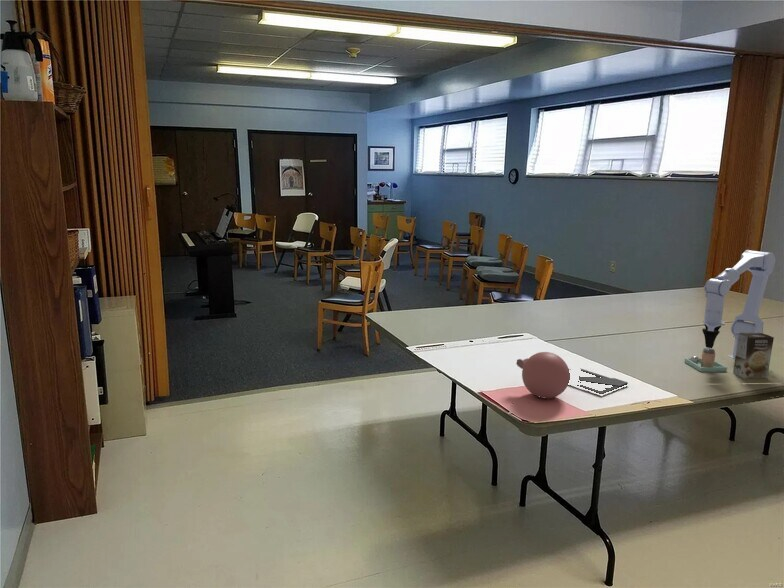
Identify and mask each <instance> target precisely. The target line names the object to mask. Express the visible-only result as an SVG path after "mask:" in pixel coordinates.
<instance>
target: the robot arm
mask: <svg viewBox="0 0 784 588" xmlns="http://www.w3.org/2000/svg"><path fill="white" fill-rule="evenodd" d="M775 265H776V257H775V254H774V253H773V252H766V251H760V250H759V251H758V250H750V249H746V250H744V252H743V253H741V256H740V260H739V261H738V262H736V264H734V266H733V267H727V268H725V269H724V270H723V271H722V272H721V273H719V274H718V275H717V276H716V277H714V278H710V279H708V280H706V282H705V285H703V287H704V292H705V298H706V301H705V302H706V303H705V308H704V309H705V310H704V320H703V326H704V327H705V328H703V327H702V333H703V335H704V336H703V337H704V342H705V348H710V349H713V348H714V345H715V343H716V342H715V341H716V339H717V336H718V335H719V334H720V329H721V328H722V326H725V325H726V322H722V319H723V312H724V303H725V297H726V295H728V293H729V292H730V289H731V288H732V286H733V285H734V284H735V283H736V282H738V281H739V280H740V275H741V274H743V273H745V272H746V271H749V272H751V273H750V274H751V275H752V277H751V282H750V285H749V288H748V293H747V295H746V299H745V300H746V301H745V304H744V307H743V311H742V313H740V314H738V315H736V316H735V318H734V320H733V321H732V323H731V325H730V333H731V334H732V335H733V337H734V344H733V350H732V354H727V357H729V358H731V359H732V360H735V356H736V349H737V343H738V336H739V333H763V334H764V325H765V324H764V323H765V322H764V321H763V320H762V319H761V318H760V316H759V313H760V309H761V305H762V301H763V297H764V294H765V291H766V287H767V283H768V279H769V277H770V275H771V274H773V271H774V268H775Z"/></svg>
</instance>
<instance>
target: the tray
mask: <svg viewBox="0 0 784 588" xmlns="http://www.w3.org/2000/svg"><path fill="white" fill-rule="evenodd" d="M690 358H691V357H685V358H684V363H685V364H687V365H688V366H690V367H692V368H694V369H695V370H697V371H699V372H703V373H704V372H705V373H708V372H711V373H712V372H715V373H716V372H727V371H728V367H727V366H726V365H724V364H722V363H720V362H718V361H717V360H715V361H714V367H701V358H702V357H698V358H699V363H698V364H696V363H694V362H692V361H690Z"/></svg>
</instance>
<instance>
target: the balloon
mask: <svg viewBox="0 0 784 588" xmlns="http://www.w3.org/2000/svg"><path fill="white" fill-rule="evenodd" d="M515 364H516V366H517V367H518V368H520V369H521V377H522V382H523V385H524V386H525V388H526V389H527V390H528V392H529V393H531V394H532V395H533V394H534V395H533V396H535V395H536V396H535V397H537V396H540V397H545V398H544V399H552V397H553V398H556V397H559V396H560V395H561V394H562V393H563V392H565V390H566V389H567V388H568V386H569V385H568V383H569V380H570V373H569V370H570V369H569V366H568V364H567V363H566V361H565V360H564V359H563V358H562V357H561V356H559V355H558V354H556V353H554V352H549V351H539V352H536V353H535V354H532V355H531V356H530V357H527V358H525V359H521V358H519V359H517V360H516V363H515ZM540 397H539V398H540Z"/></svg>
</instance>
